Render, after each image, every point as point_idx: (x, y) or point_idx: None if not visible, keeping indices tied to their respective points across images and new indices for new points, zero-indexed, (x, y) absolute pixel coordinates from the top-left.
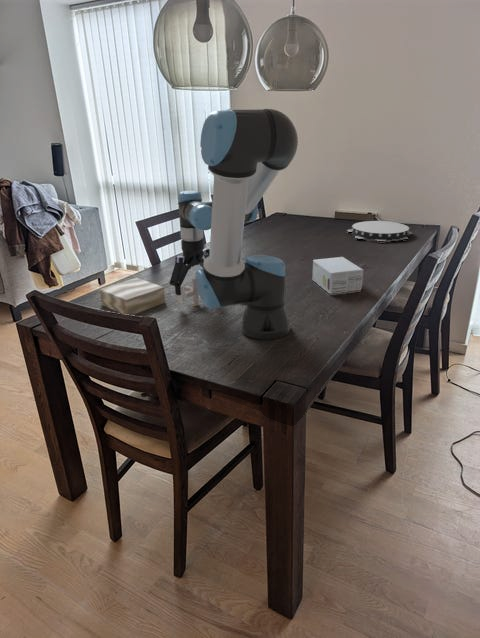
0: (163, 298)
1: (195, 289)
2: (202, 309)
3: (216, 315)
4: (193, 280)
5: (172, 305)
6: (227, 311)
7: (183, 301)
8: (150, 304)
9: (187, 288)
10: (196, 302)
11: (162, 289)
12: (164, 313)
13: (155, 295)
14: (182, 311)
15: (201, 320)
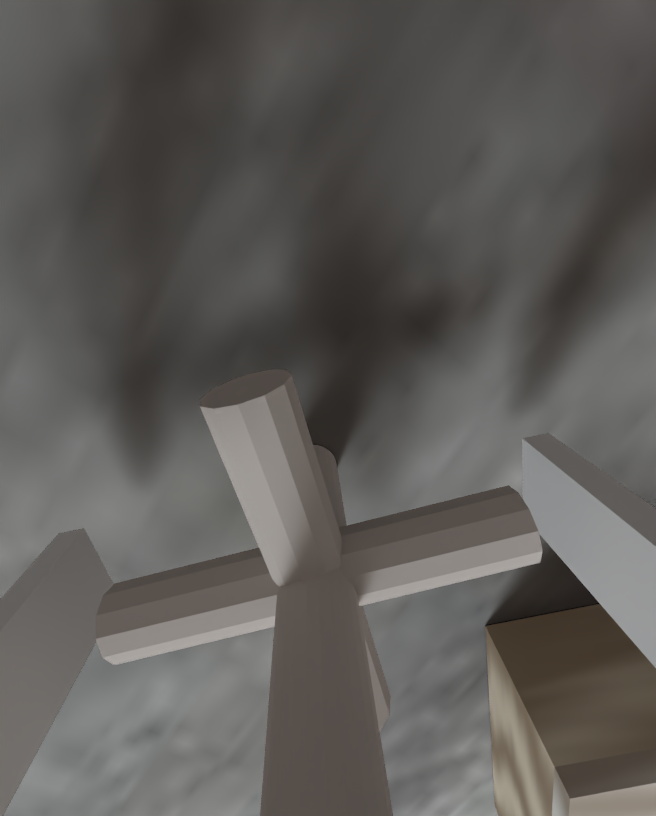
0: (519, 662)
1: (338, 582)
2: (328, 324)
3: (291, 13)
4: (384, 801)
5: None
6: (87, 33)
7: (552, 451)
8: None
9: (374, 678)
10: (323, 462)
11: (575, 766)
12: (641, 458)
13: (642, 704)
14: (508, 404)
15: (540, 5)
